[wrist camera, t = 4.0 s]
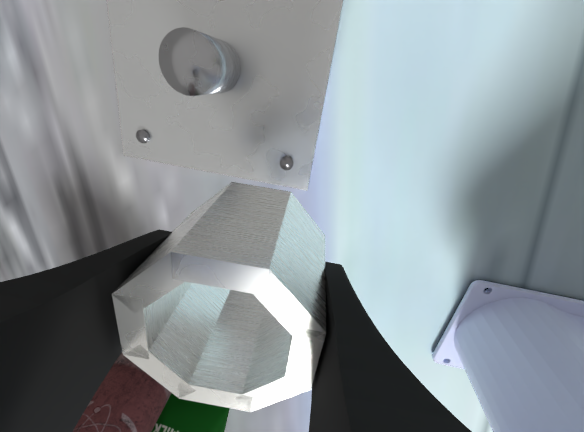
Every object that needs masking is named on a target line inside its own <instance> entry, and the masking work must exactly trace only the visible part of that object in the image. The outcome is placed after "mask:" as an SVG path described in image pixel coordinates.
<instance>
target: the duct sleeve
mask: <svg viewBox="0 0 584 432" xmlns="http://www.w3.org/2000/svg"><path fill="white" fill-rule="evenodd" d="M112 298H113V304H114V309H115V315H116V320H117V326H118V331H119V337H120V342H121V348H122V353H123V355H124V356H125V357H127V358H128V359H129V360H130V361H132V362H133V363H134V364H136V365H137V366H138V367H139V368H141V369H142V370H143V371H144V372H146V373H147V374H148V375H150V376H151V377H152V378H153V379H155V380H156V381H157V382H159V383H160V384H161V385H162V386H164V387H165V388H166V389H167V390H169V391H170V392H171V393H173V394H174V395H175V396H176V397H178V398H179V399H184V400H189V401H195V402H200V403H205V404H210V405H216V406H221V407H226V408H232V409H237V410H242V411H247V412H252V411H255V410H258V409H260V408H263V407H266V406H268V405H271V404H274V403H276V402H279V401H282V400H284V399H287V398H289V397H292V396H295V395H297V394H300V393H303V392H305V391H308V390H311V387H312V383H313V379H314V376H315V372H316V368H317V365H318V361H319V357H320V354H321V350H322V346H323V343H324V339H325V335H326V282H325V235H324V234H323V232H322V231H321V230H320V229H319V227H318V226H317V225H316V223H315V222H314V221H313V220H312V218H311V217H310V216H309V214H308V213H307V212H306V211H305V209H304V208H303V207H302V205H301V204H300V203H299V202H298V200H297V199H296V198H295V196H294V195H293V194H292V193H291V192H288V191H283V190H277V189H271V188H265V187H259V186H253V185H247V184H241V183H235V182H232V183H230V184H229V185H228V186H226V187H225V188H224V189H222V190H221V191H220V192H218V193H217V194H216V195H214V196H213V197H212V198H210V199H209V200H208V201H206V202H205V203H204V204H202V205H201V206H200V207H198V208H197V209H196V210H194V211H193V212H192V213H191V214H190V215H189V216H188V217H187V218H186V219H185V220H184V221H183V222H182V223H181V224H180V225H179V226H178V227H177V228H176V229H175V230H174V231H173V232H172V233H171V234H170V235H169V236H168V237H167V238H166V239H165V240H164V241H163V242H162V243H161V244H160V245H159V246H158V247H157V248H156V249H155V250H154V251H153V252H152V254H151V255H150V256H149V257H148V258H147V259H146V260H145V261H144V262H143V263H142V264H141V265H140V266H139V267H138V268H137V269H136V270H135V271H134V272H133V273H132V274H131V275H130V276H129V277H128V278H127V279H126V280H125V281H124V282H123V283H122V284H121V285H120V286H119V287H118V288H117V289H116V290H115V291H114V292H113V293H112Z"/></svg>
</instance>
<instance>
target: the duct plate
mask: <svg viewBox="0 0 584 432" xmlns="http://www.w3.org/2000/svg"><path fill="white" fill-rule="evenodd" d="M342 4H343V0H107V9H108V18H109V27H110V37H111V46H112V55H113V64H114V73H115V82H116V91H117V100H118V110H119V119H120V128H121V137H122V146H123V155H124V156H128V157H133V158H139V159H144V160H149V161H154V162H160V163H165V164H170V165H175V166H180V167H186V168H191V169H196V170H201V171H207V172H212V173H217V174H222V175H228V176H233V177H238V178H243V179H248V180H254V181H259V182H264V183H269V184H275V185H280V186H285V187H290V188H295V189H301V190H306V191H307V189H308V184H309V179H310V174H311V168H312V163H313V158H314V152H315V147H316V142H317V136H318V131H319V126H320V121H321V115H322V110H323V105H324V99H325V94H326V89H327V83H328V78H329V73H330V67H331V62H332V57H333V52H334V46H335V41H336V36H337V30H338V25H339V20H340V14H341V9H342Z"/></svg>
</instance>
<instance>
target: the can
mask: <svg viewBox="0 0 584 432" xmlns="http://www.w3.org/2000/svg"><path fill="white" fill-rule="evenodd" d="M170 395H171V392H170V391H169V390H167V389H166V388H165V387H164V386H162V385H161V384H160V383H159V382H157V381H156V380H155V379H153V378H152V377H151V376H150V375H148V374H147V373H146V372H144V371H143V370H142V369H141V368H139V367H138V366H137V365H136V364H134V363H133V362H132V361H130V360H129V359H128V358H127V357H125V356H124V355H123V353H121V354H120V356H119V357H118V358H117V360H116V361H115V363H114V364H113V366H112V368H111V369H110V371H109V372H108V374H107V375H106V377H105V379H104V380H103V382H102V383H101V385H100V386H99V388H98V390H97V391H96V393H95V395H94V396H93V398H92V400H91V401H90V403H89V404H88V406H87V408H86V409H85V411H84V413H83V414H82V416H81V418H80V419H79V421H78V423H77V425H76V426H75V428H74V430H73V432H152V430H153V428H154V426H155V424H156V422H157V420H158V418H159V416H160V414H161V412H162V410H163V409H164V407H165V405H166V403H167V401H168V399H169V397H170Z"/></svg>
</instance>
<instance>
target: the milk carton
mask: <svg viewBox="0 0 584 432" xmlns="http://www.w3.org/2000/svg"><path fill="white" fill-rule="evenodd" d="M228 413H229V408H226V407H221V406H216V405H210V404H205V403H200V402H195V401H189V400H184V399H179V398H178V397H176V396H175V395H174V394H173V393H171V395H170V397H169V399H168V401H167V403H166V405H165V407H164V409H163V410H162V412H161V414H160V416H159V418H158V420H157V422H156V424H155V426H154V428H153V430H152V432H224V430H225V426H226V422H227V417H228Z"/></svg>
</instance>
